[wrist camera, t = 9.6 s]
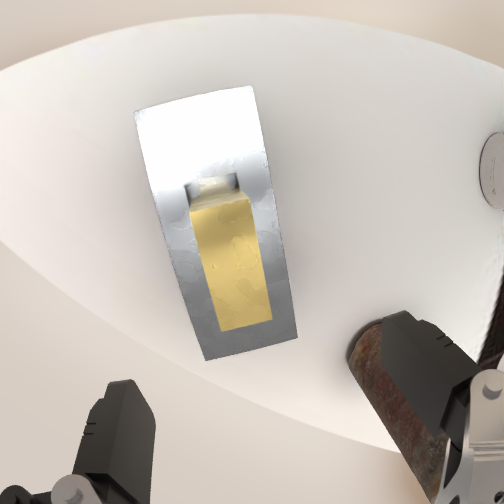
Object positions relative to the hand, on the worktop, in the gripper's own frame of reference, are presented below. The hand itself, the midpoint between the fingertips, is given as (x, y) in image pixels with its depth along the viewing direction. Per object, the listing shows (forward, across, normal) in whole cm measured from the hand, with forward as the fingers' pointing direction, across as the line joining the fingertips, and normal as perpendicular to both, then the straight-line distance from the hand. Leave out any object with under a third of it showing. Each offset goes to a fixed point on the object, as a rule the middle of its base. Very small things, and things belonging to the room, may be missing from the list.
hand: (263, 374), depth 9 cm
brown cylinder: (+17, -12, +17) cm, 27 cm away
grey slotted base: (+17, 0, 0) cm, 17 cm away
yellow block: (+16, 0, 0) cm, 16 cm away
